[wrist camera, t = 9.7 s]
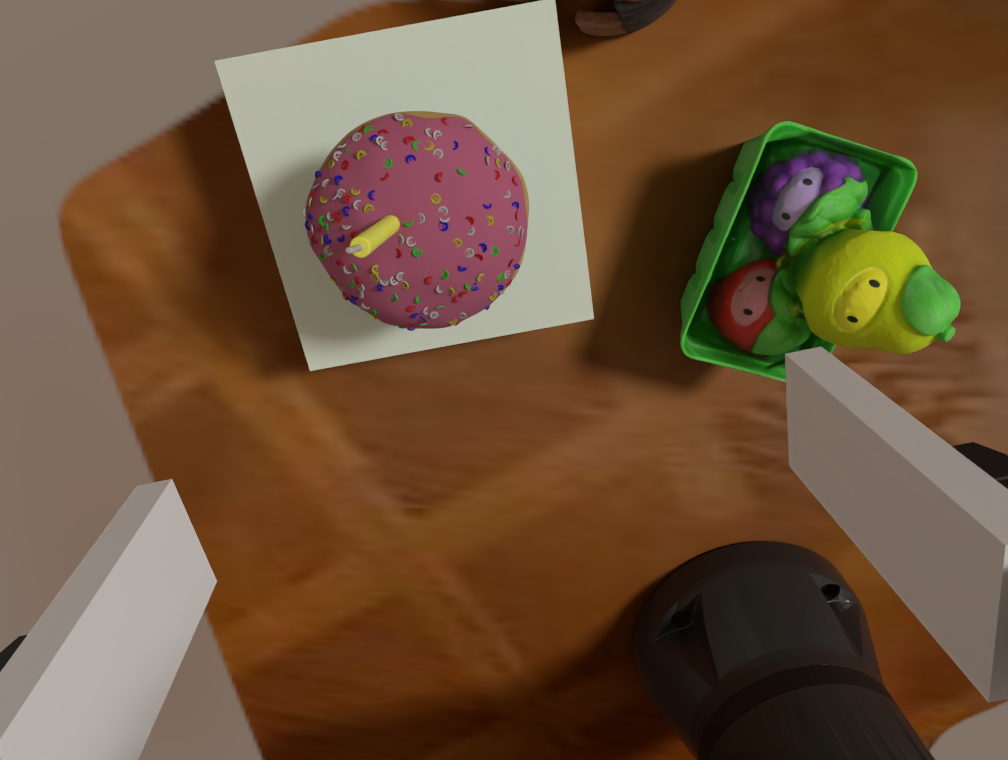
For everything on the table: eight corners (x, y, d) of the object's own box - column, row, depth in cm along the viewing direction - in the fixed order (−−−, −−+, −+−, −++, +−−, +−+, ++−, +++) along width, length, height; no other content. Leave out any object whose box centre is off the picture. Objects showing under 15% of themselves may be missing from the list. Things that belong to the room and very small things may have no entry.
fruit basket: (731, 105, 36) (845, 131, 26) (887, 156, 38) (1054, 199, 27) (648, 318, 40) (717, 413, 30) (791, 356, 42) (904, 458, 32)
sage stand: (580, 293, 39) (594, 318, 36) (322, 340, 39) (309, 371, 36) (542, 2, 33) (555, -3, 30) (239, 58, 33) (214, 60, 30)
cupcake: (298, 246, 33) (227, 346, 22) (369, 61, 30) (326, 73, 19) (471, 320, 35) (484, 445, 24) (553, 154, 32) (609, 212, 21)
